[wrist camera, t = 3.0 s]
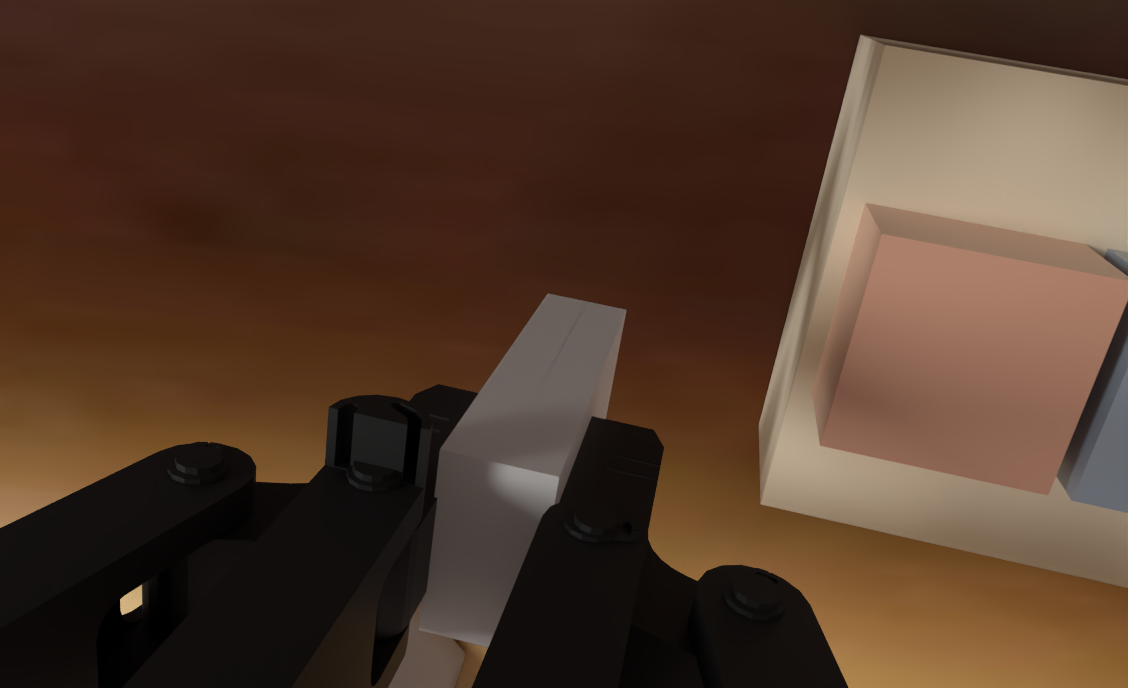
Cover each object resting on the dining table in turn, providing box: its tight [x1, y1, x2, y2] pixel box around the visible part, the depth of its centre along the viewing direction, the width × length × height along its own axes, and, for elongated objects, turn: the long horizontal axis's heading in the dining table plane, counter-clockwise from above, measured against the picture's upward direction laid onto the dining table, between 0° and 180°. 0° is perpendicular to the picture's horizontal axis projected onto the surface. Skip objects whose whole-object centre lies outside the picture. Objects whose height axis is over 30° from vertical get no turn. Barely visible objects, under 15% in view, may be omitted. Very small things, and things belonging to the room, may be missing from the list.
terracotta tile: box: [812, 203, 1128, 495], centre depth 21 cm, size 5×5×3 cm
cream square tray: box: [759, 35, 1128, 588], centre depth 24 cm, size 12×12×5 cm
